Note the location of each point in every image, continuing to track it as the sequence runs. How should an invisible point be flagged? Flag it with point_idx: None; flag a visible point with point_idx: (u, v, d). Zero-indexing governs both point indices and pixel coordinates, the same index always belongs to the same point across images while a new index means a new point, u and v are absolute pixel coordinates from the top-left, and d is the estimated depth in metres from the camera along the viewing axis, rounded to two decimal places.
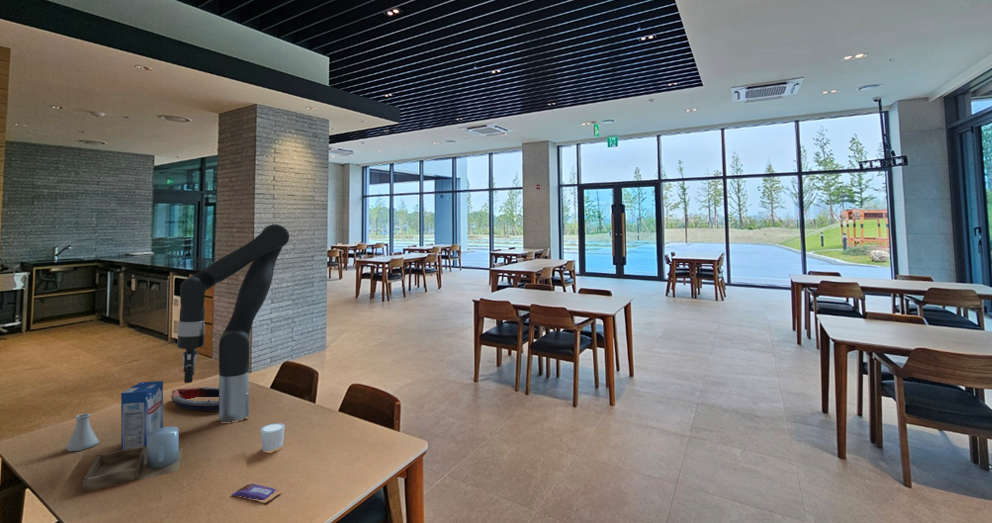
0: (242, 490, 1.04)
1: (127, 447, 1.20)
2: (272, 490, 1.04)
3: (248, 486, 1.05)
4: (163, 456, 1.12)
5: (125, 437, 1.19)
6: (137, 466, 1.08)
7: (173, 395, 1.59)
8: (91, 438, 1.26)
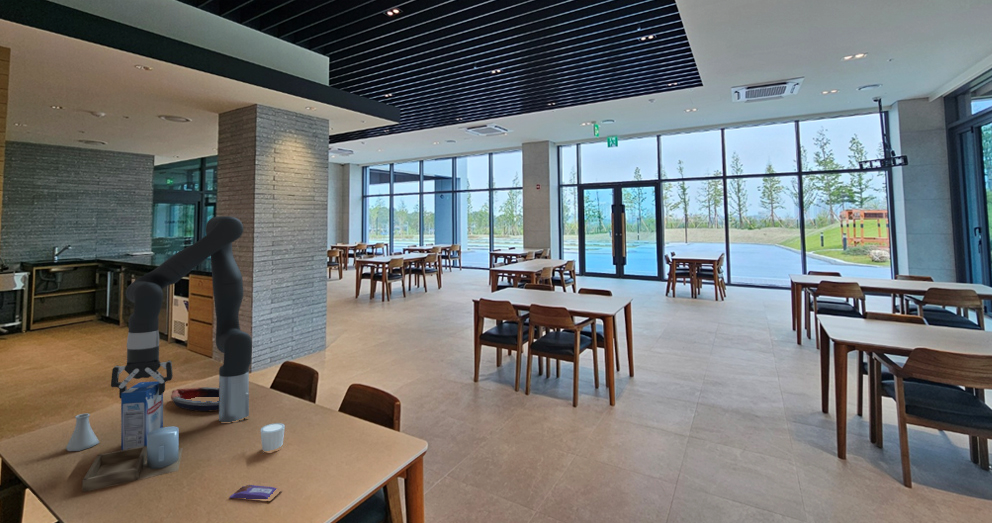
0: (241, 492, 1.03)
1: (127, 447, 1.20)
2: (273, 489, 1.05)
3: (246, 487, 1.05)
4: (163, 456, 1.12)
5: (125, 437, 1.19)
6: (137, 466, 1.08)
7: (173, 395, 1.59)
8: (91, 437, 1.26)
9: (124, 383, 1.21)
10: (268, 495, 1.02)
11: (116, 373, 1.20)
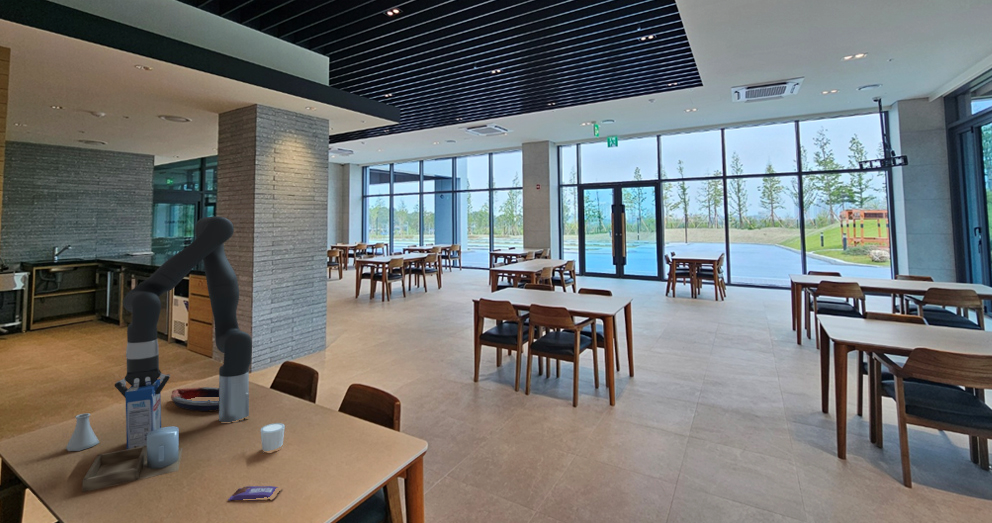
0: (240, 493, 1.02)
1: (133, 445, 1.20)
2: (273, 488, 1.05)
3: (244, 489, 1.04)
4: (163, 456, 1.12)
5: (130, 435, 1.20)
6: (137, 466, 1.08)
7: (173, 395, 1.59)
8: (91, 437, 1.26)
9: None
10: (270, 494, 1.03)
11: (121, 387, 1.21)
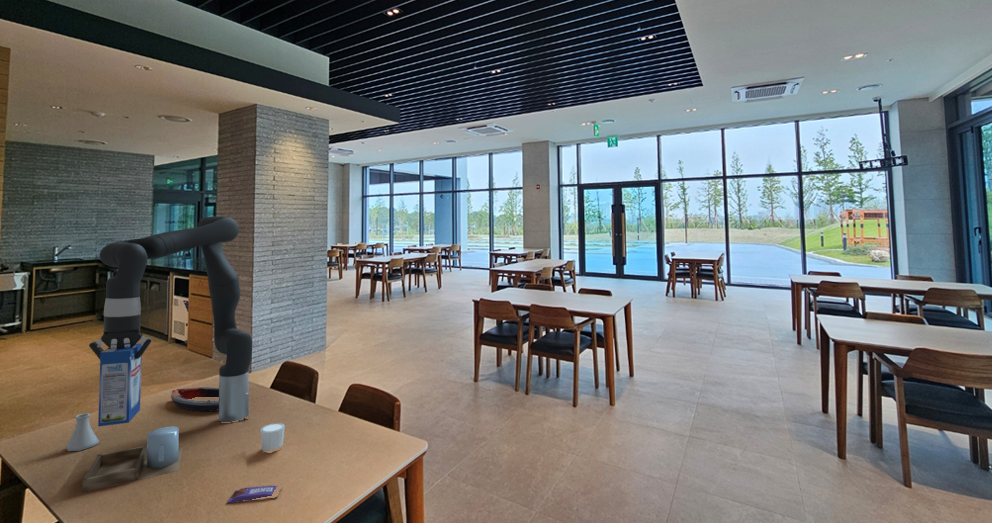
0: (239, 495, 1.02)
1: (106, 413, 1.07)
2: (273, 487, 1.06)
3: (242, 490, 1.03)
4: (163, 456, 1.12)
5: (104, 402, 1.07)
6: (137, 466, 1.08)
7: (173, 395, 1.59)
8: (91, 437, 1.26)
9: None
10: (272, 493, 1.03)
11: (96, 348, 1.08)
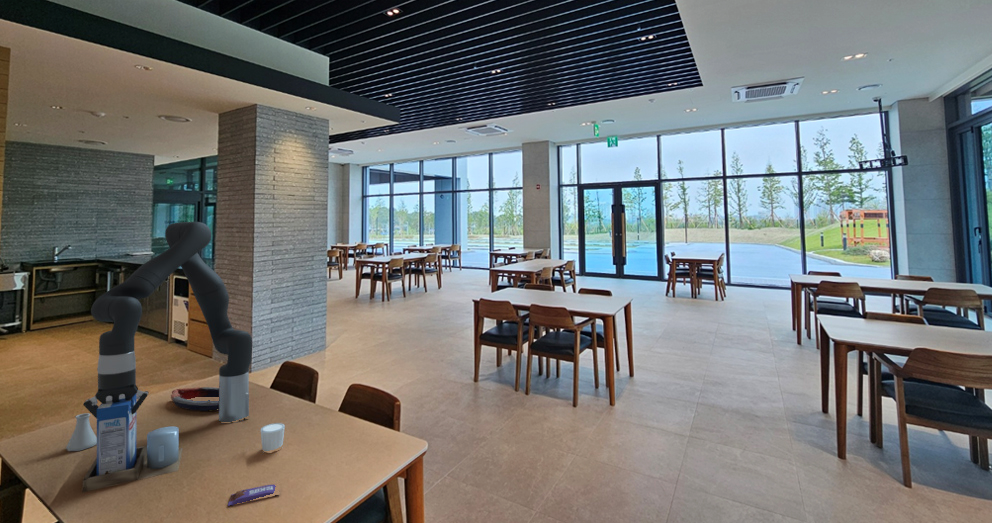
0: (239, 497, 1.01)
1: (104, 470, 1.05)
2: (272, 485, 1.06)
3: (240, 493, 1.02)
4: (163, 456, 1.12)
5: (102, 459, 1.04)
6: (137, 466, 1.08)
7: (173, 395, 1.59)
8: (91, 438, 1.26)
9: None
10: (273, 490, 1.04)
11: (91, 406, 1.05)
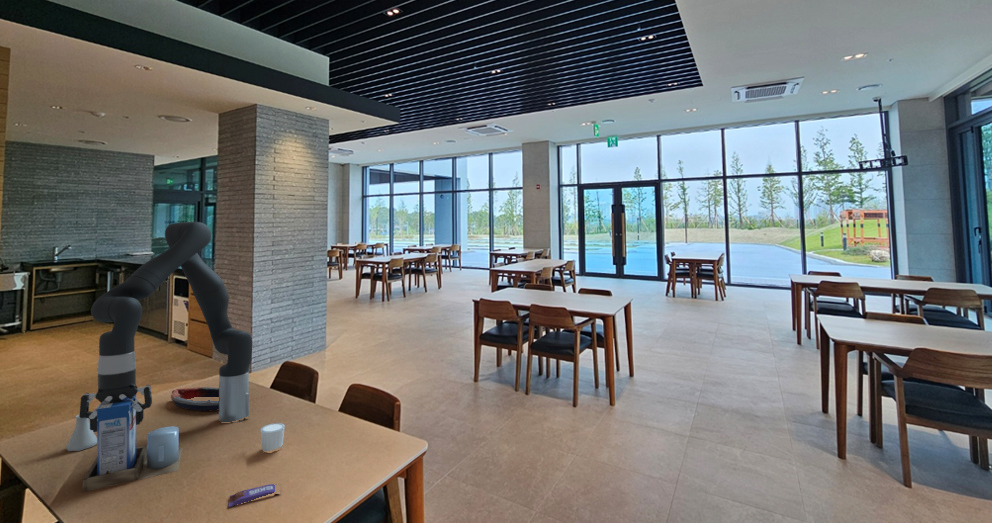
0: (240, 497, 1.01)
1: (105, 470, 1.05)
2: (272, 485, 1.06)
3: (240, 493, 1.02)
4: (163, 456, 1.12)
5: (102, 459, 1.04)
6: (137, 466, 1.08)
7: (173, 395, 1.59)
8: (91, 438, 1.26)
9: (95, 413, 1.06)
10: (274, 490, 1.04)
11: (85, 402, 1.05)
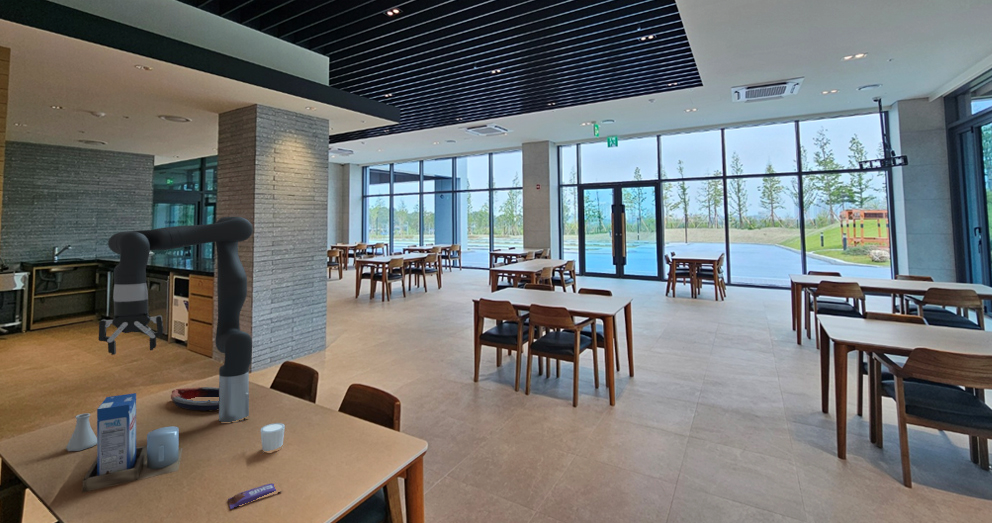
0: (241, 499, 1.00)
1: (105, 470, 1.05)
2: (271, 484, 1.07)
3: (239, 495, 1.01)
4: (163, 456, 1.12)
5: (102, 459, 1.04)
6: (137, 466, 1.08)
7: (173, 395, 1.59)
8: (91, 438, 1.26)
9: (113, 337, 1.16)
10: (274, 488, 1.05)
11: (103, 326, 1.15)
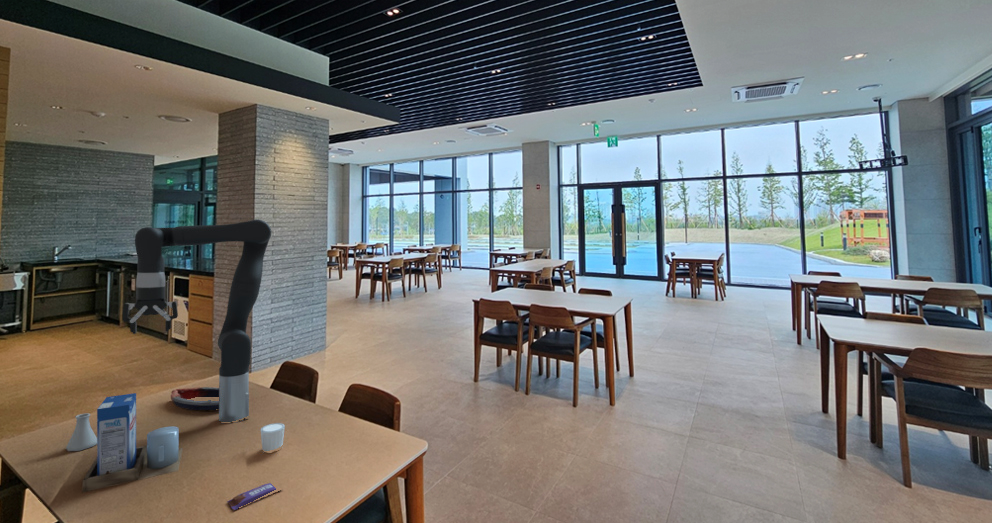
0: (242, 500, 1.00)
1: (105, 470, 1.05)
2: (269, 484, 1.07)
3: (240, 497, 1.01)
4: (163, 456, 1.12)
5: (102, 459, 1.04)
6: (137, 466, 1.08)
7: (173, 395, 1.59)
8: (91, 438, 1.26)
9: (134, 318, 1.34)
10: None
11: (127, 309, 1.32)
